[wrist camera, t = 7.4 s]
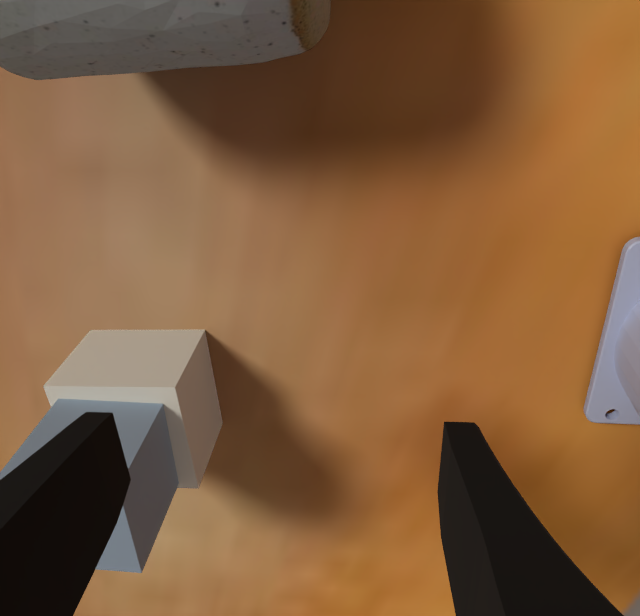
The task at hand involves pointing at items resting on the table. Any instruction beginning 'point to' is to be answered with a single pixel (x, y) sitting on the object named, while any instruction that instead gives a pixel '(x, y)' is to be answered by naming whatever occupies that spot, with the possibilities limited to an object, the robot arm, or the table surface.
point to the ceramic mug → (152, 34)
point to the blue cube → (143, 465)
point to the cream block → (151, 385)
